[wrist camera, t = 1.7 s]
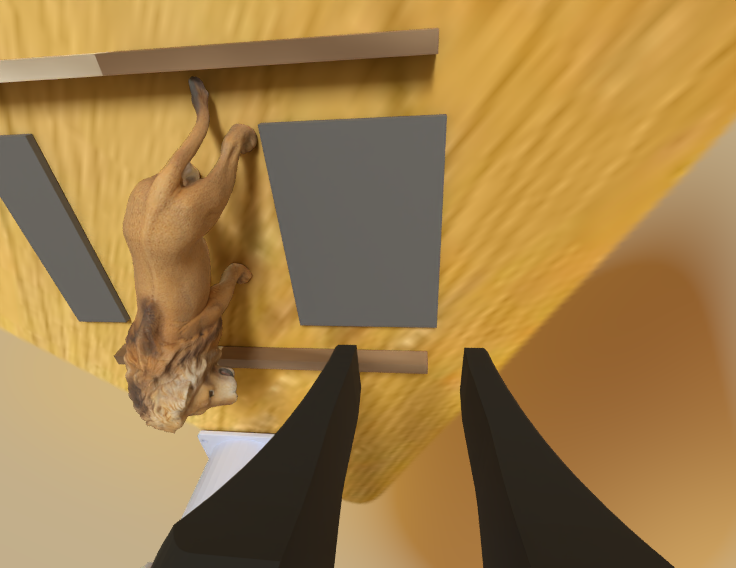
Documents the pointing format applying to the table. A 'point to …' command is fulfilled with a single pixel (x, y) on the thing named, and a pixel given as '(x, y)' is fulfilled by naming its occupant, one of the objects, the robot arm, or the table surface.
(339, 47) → the wooden sticks
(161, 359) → the lion figurine
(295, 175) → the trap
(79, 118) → the table surface
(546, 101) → the table surface
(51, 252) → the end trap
